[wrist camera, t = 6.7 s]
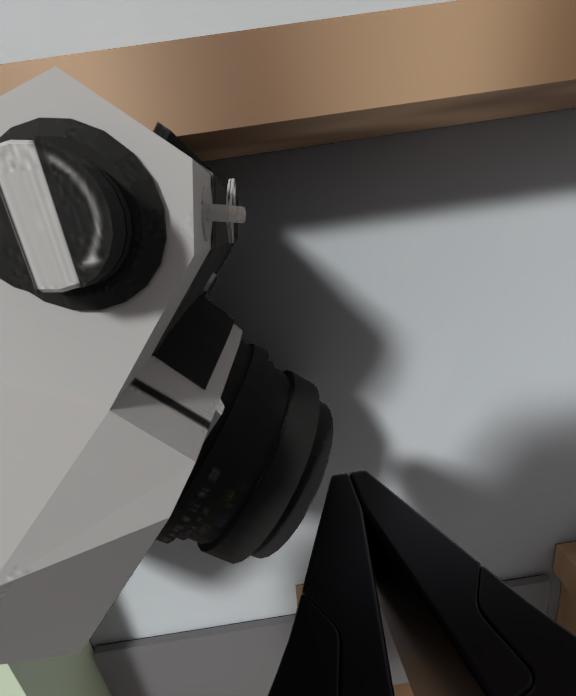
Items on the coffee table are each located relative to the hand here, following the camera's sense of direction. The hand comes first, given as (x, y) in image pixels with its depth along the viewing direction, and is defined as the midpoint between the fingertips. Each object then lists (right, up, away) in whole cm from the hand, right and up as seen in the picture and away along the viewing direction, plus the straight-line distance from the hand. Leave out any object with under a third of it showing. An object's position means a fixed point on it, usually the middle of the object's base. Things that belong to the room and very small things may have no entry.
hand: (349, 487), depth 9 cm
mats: (0, -10, +8) cm, 13 cm away
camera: (-5, +2, +4) cm, 7 cm away
